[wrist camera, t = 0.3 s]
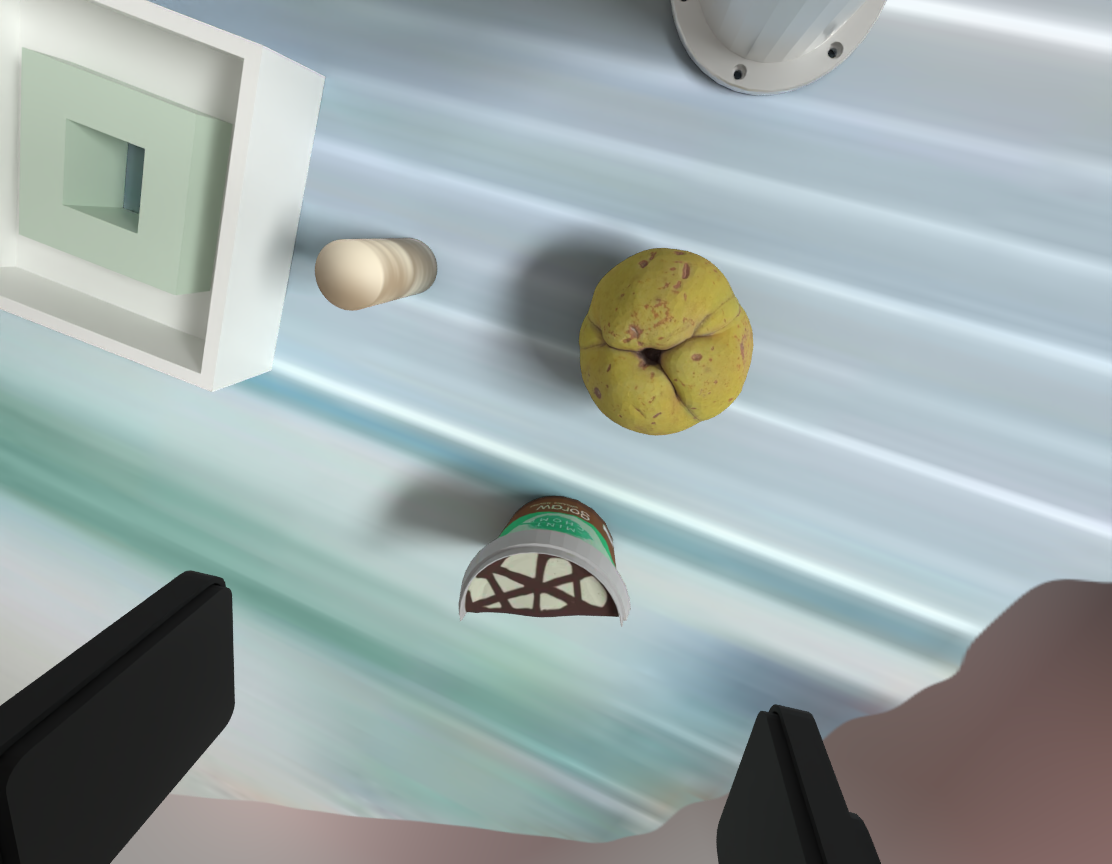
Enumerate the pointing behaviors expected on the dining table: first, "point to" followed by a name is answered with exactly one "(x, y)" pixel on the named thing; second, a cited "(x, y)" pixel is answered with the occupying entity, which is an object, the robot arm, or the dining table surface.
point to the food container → (548, 565)
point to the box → (150, 183)
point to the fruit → (664, 342)
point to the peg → (373, 271)
